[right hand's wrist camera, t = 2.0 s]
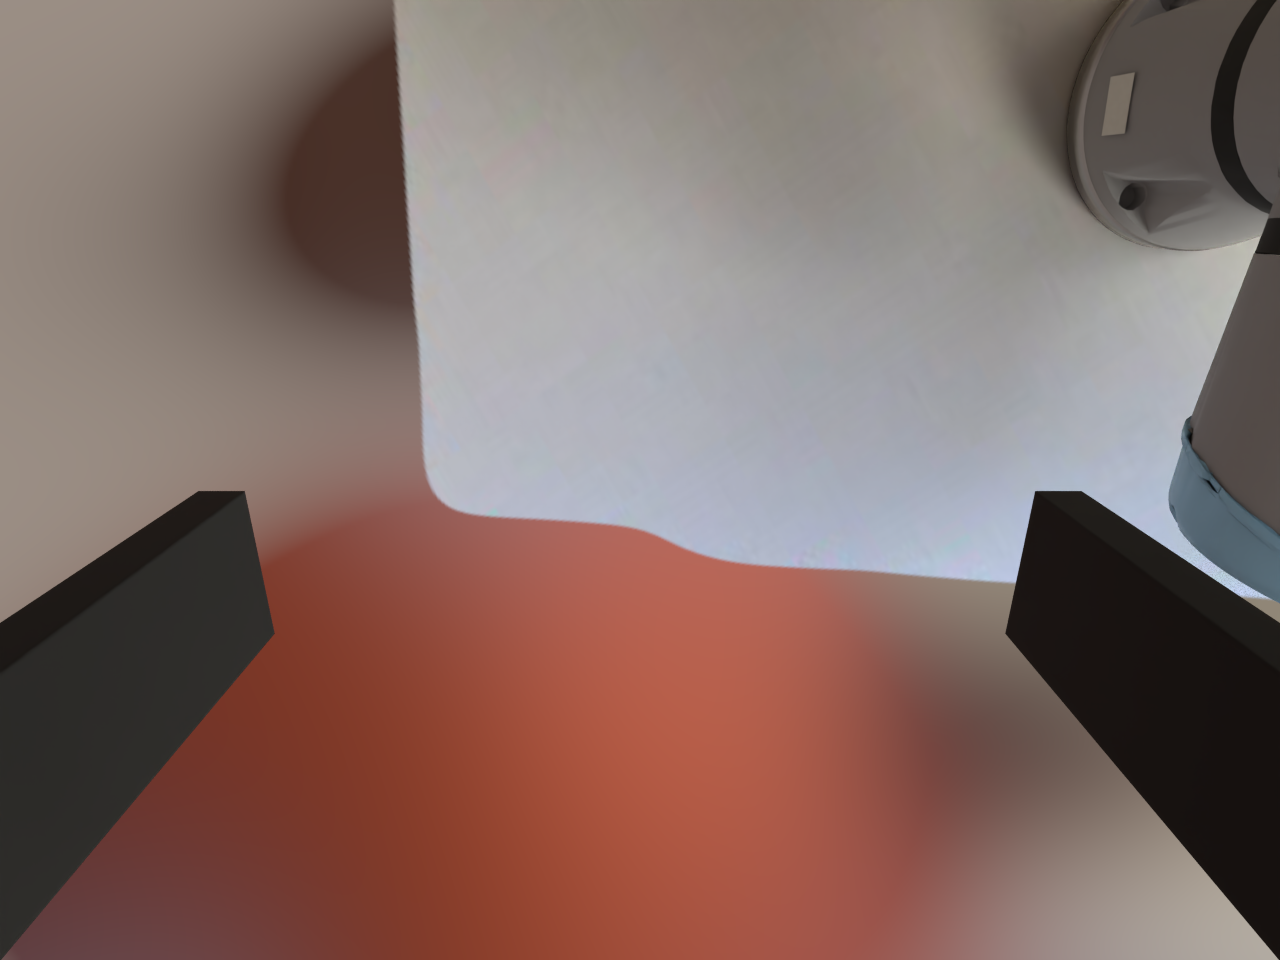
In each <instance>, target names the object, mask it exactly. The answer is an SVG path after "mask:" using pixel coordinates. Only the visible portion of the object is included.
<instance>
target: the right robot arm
mask: <svg viewBox="0 0 1280 960" xmlns="http://www.w3.org/2000/svg"><path fill="white" fill-rule="evenodd" d="M1067 147H1068V156H1069V163H1070V167H1071V171H1072V175H1073V178H1074V181H1075V184H1076V186H1077V189H1078V191H1079V193H1080V195H1081V197H1082V199H1083V201H1084V202H1085V203H1086V205H1087V206H1088V208H1089V209H1090V211H1091V212H1092V213H1093V214H1094V215H1095V217H1096V218H1097V219H1098V220H1099V221H1100V222H1101V223H1102V224H1104V225H1105V226H1106V227H1107V228H1108V229H1110V230H1111V231H1113V232H1114V233H1116V234H1117V235H1119V236H1121V237H1123V238H1125V239H1127V240H1129V241H1132V242H1134V243H1137V244H1140V245H1144V246H1148V247H1153V248H1161V249H1170V250H1183V251H1197V250H1208V249H1214V248H1220V247H1224V246H1229V245H1233V244H1237V243H1241V242H1244V241H1247V240H1250V239H1253V238H1256V237H1259V236H1261V238H1260V241H1259V244H1258V246H1257V249H1256V251H1255V253H1254V255H1253V258H1252V260H1251V263H1250V265H1249V268H1248V271H1247V273H1246V276H1245V278H1244V281H1243V284H1242V286H1241V289H1240V291H1239V294H1238V297H1237V299H1236V302H1235V305H1234V307H1233V310H1232V312H1231V315H1230V318H1229V320H1228V323H1227V325H1226V328H1225V331H1224V333H1223V336H1222V338H1221V341H1220V344H1219V346H1218V349H1217V352H1216V354H1215V357H1214V359H1213V362H1212V365H1211V367H1210V370H1209V372H1208V375H1207V378H1206V380H1205V383H1204V385H1203V388H1202V391H1201V393H1200V396H1199V399H1198V401H1197V404H1196V406H1195V409H1194V412H1193V414H1192V416H1190V417H1189V418H1188V419H1186V421H1185V424H1184V426H1183V429H1182V436H1181V440H1182V445H1183V447H1182V450H1181V453H1180V456H1179V459H1178V463H1177V466H1176V469H1175V472H1174V476H1173V479H1172V482H1171V485H1170V489H1169V507H1170V511H1171V513H1172V515H1173V517H1174V519H1175V520H1176V522H1177V523H1178V527H1179V529H1180V531H1181V532H1182V534H1183V535H1184V536H1185V537H1186V539H1187V540H1188V541H1189V542H1190V543H1191V544H1192V545H1193V546H1194V547H1195V548H1196V549H1197V550H1198V551H1199V552H1200V553H1202V554H1203V555H1204V556H1205V557H1206V558H1207V559H1209V560H1210V561H1211V562H1212V563H1214V564H1215V565H1216V566H1218V567H1219V568H1221V569H1222V570H1223V571H1225V572H1226V573H1228V574H1229V575H1231V576H1232V577H1234V578H1236V579H1237V580H1239V581H1240V582H1242V583H1244V584H1245V585H1247V586H1249V587H1251V588H1252V589H1254V590H1256V591H1258V592H1259V593H1261V594H1263V595H1265V596H1267V597H1269V598H1271V599H1273V600H1274V601H1276V602H1278V603H1280V256H1279V255H1280V0H1124V1H1123V2H1122V3H1121V4H1120V5H1119V6H1118V7H1117V8H1116V10H1115V11H1114V12H1113V13H1112V15H1111V16H1110V17H1109V18H1108V20H1107V21H1106V23H1105V24H1104V26H1103V27H1102V29H1101V30H1100V31H1099V33H1098V35H1097V36H1096V38H1095V40H1094V42H1093V43H1092V45H1091V47H1090V49H1089V51H1088V53H1087V55H1086V57H1085V59H1084V61H1083V64H1082V66H1081V69H1080V71H1079V74H1078V76H1077V80H1076V83H1075V86H1074V89H1073V93H1072V98H1071V102H1070V107H1069V114H1068V122H1067ZM1268 254H1271V255H1268ZM273 635H274V629H273V624H272V619H271V615H270V609H269V605H268V600H267V595H266V591H265V586H264V581H263V576H262V572H261V567H260V562H259V557H258V553H257V548H256V543H255V538H254V533H253V529H252V524H251V519H250V514H249V510H248V505H247V500H246V495H245V491H198V492H197V493H195V494H194V495H192V496H191V497H189V498H188V499H186V500H185V501H183V502H182V503H180V504H179V505H177V506H176V507H174V508H172V509H171V510H169V511H168V512H166V513H165V514H163V515H162V516H161V517H159V518H157V519H156V520H154V521H153V522H151V523H150V524H148V525H147V526H146V527H144V528H142V529H141V530H139V531H138V532H136V533H135V534H133V535H132V536H130V537H129V538H127V539H126V540H124V541H123V542H121V543H120V544H118V545H117V546H115V547H114V548H112V549H111V550H109V551H108V552H106V553H105V554H103V555H102V556H100V557H99V558H97V559H96V560H94V561H93V562H91V563H90V564H88V565H87V566H85V567H84V568H82V569H81V570H79V571H78V572H76V573H75V574H73V575H72V576H70V577H69V578H67V579H66V580H64V581H63V582H61V583H60V584H58V585H57V586H55V587H54V588H52V589H51V590H49V591H48V592H46V593H45V594H43V595H42V596H40V597H39V598H37V599H36V600H34V601H33V602H31V603H30V604H28V605H27V606H25V607H24V608H22V609H21V610H19V611H18V612H16V613H15V614H13V615H12V616H10V617H8V618H7V619H5V620H4V621H3V622H1V623H0V960H1V959H2V958H3V957H4V956H5V954H6V953H7V952H8V951H9V950H10V948H11V947H12V946H13V945H14V944H15V943H16V941H17V940H18V939H19V938H20V937H21V935H22V934H23V933H24V932H25V931H26V929H27V928H28V927H29V926H30V925H31V923H32V922H33V921H34V920H35V919H36V917H37V916H38V915H39V914H40V913H41V911H42V910H43V909H44V908H45V907H46V906H47V904H48V903H49V902H50V901H51V900H52V898H53V897H54V896H55V895H56V894H57V892H58V891H59V890H60V889H61V888H62V886H63V885H64V884H65V883H66V882H67V880H68V879H69V878H70V877H71V876H72V874H73V873H74V872H75V871H76V870H77V869H78V867H79V866H80V865H81V864H82V863H83V861H84V860H85V859H86V858H87V857H88V855H89V854H90V853H91V852H92V851H93V849H94V848H95V847H96V846H97V845H98V844H99V842H100V841H101V840H102V839H103V837H104V836H105V835H106V834H107V833H108V832H109V830H110V829H111V828H112V827H113V826H114V824H115V823H116V822H117V821H118V820H119V818H120V817H121V816H122V815H123V814H124V812H125V811H126V810H127V809H128V808H129V807H130V805H131V804H132V803H133V802H134V801H135V799H136V798H137V797H138V796H139V795H140V793H141V792H142V791H143V790H144V789H145V787H146V786H147V785H148V784H149V783H150V782H151V780H152V779H153V778H154V777H155V776H156V774H157V773H158V772H159V771H160V770H161V768H162V767H163V766H164V765H165V764H166V762H167V761H168V760H169V759H170V758H171V756H172V755H173V754H174V753H175V752H176V751H177V749H178V748H179V747H180V746H181V745H182V743H183V742H184V741H185V740H186V738H187V737H188V736H189V735H190V734H191V733H192V731H193V730H194V729H195V728H196V727H197V725H198V724H199V723H200V722H201V721H202V719H203V718H204V717H205V716H206V715H207V714H208V712H209V711H210V710H211V709H212V707H213V706H214V705H215V704H216V703H217V702H218V700H219V699H220V698H221V697H222V696H223V694H224V693H225V692H226V691H227V690H228V689H229V687H230V686H231V685H232V684H233V683H234V681H235V680H236V679H237V678H238V677H239V675H240V674H241V673H242V672H243V671H244V669H245V668H246V667H247V666H248V665H249V663H250V662H251V661H252V660H253V659H254V657H255V656H256V655H257V654H258V653H259V652H260V650H261V649H262V648H263V647H264V646H265V644H266V643H267V642H268V641H269V640H270V638H271V637H272V636H273ZM1006 635H1007V636H1008V637H1009V638H1010V640H1011V641H1012V642H1013V643H1014V644H1015V645H1016V647H1017V648H1018V649H1019V650H1020V652H1021V653H1022V654H1023V655H1024V656H1025V657H1026V659H1027V660H1028V661H1029V662H1030V663H1031V665H1032V666H1033V667H1034V668H1035V669H1036V671H1037V672H1038V673H1039V674H1040V675H1041V677H1042V678H1043V679H1044V680H1045V681H1046V683H1047V684H1048V685H1049V686H1050V687H1051V688H1052V690H1053V691H1054V692H1055V693H1056V694H1057V696H1058V697H1059V698H1060V699H1061V700H1062V702H1063V703H1064V704H1065V705H1066V706H1067V708H1068V709H1069V710H1070V711H1071V712H1072V714H1073V715H1074V716H1075V717H1076V718H1077V719H1078V721H1079V722H1080V723H1081V724H1082V725H1083V727H1084V728H1085V729H1086V730H1087V731H1088V733H1089V734H1090V735H1091V736H1092V737H1093V739H1094V740H1095V741H1096V742H1097V743H1098V745H1099V746H1100V747H1101V748H1102V749H1103V751H1104V752H1105V753H1106V754H1107V755H1108V756H1109V758H1110V759H1111V760H1112V761H1113V762H1114V764H1115V765H1116V766H1117V767H1118V768H1119V770H1120V771H1121V772H1122V773H1123V774H1124V776H1125V777H1126V778H1127V779H1128V780H1129V781H1130V783H1131V784H1132V785H1133V786H1134V787H1135V789H1136V790H1137V791H1138V792H1139V793H1140V795H1141V796H1142V797H1143V798H1144V799H1145V801H1146V802H1147V803H1148V804H1149V805H1150V807H1151V808H1152V809H1153V810H1154V811H1155V812H1156V814H1157V815H1158V816H1159V817H1160V818H1161V820H1162V821H1163V822H1164V823H1165V824H1166V826H1167V827H1168V828H1169V829H1170V830H1171V832H1172V833H1173V834H1174V835H1175V836H1176V838H1177V839H1178V840H1179V841H1180V842H1181V844H1182V845H1183V846H1184V847H1185V848H1186V849H1187V851H1188V852H1189V853H1190V854H1191V855H1192V857H1193V858H1194V859H1195V860H1196V861H1197V862H1198V864H1199V865H1200V866H1201V867H1202V868H1203V870H1204V871H1205V872H1206V873H1207V874H1208V876H1209V877H1210V878H1211V879H1212V880H1213V882H1214V883H1215V884H1216V885H1217V886H1218V888H1219V889H1220V890H1221V891H1222V892H1223V894H1224V895H1225V896H1226V897H1227V898H1228V900H1229V901H1230V902H1231V903H1232V904H1233V905H1234V907H1235V908H1236V909H1237V910H1238V911H1239V913H1240V914H1241V915H1242V916H1243V917H1244V919H1245V920H1246V921H1247V922H1248V923H1249V925H1250V926H1251V927H1252V928H1253V929H1254V931H1255V932H1256V933H1257V934H1258V935H1259V937H1260V938H1261V939H1262V940H1263V941H1264V942H1265V944H1266V945H1267V946H1268V947H1269V948H1270V950H1271V951H1272V952H1273V953H1274V954H1275V956H1276V957H1277V958H1278V959H1279V960H1280V623H1279V622H1278V621H1276V620H1275V619H1273V618H1272V617H1270V616H1268V615H1267V614H1265V613H1264V612H1262V611H1261V610H1259V609H1258V608H1256V607H1255V606H1253V605H1252V604H1250V603H1249V602H1247V601H1246V600H1244V599H1243V598H1241V597H1240V596H1238V595H1237V594H1235V593H1234V592H1232V591H1231V590H1229V589H1228V588H1226V587H1225V586H1223V585H1222V584H1220V583H1219V582H1217V581H1216V580H1214V579H1213V578H1211V577H1210V576H1208V575H1207V574H1205V573H1204V572H1202V571H1201V570H1199V569H1198V568H1196V567H1195V566H1193V565H1192V564H1190V563H1189V562H1187V561H1186V560H1184V559H1183V558H1181V557H1180V556H1178V555H1177V554H1175V553H1174V552H1172V551H1171V550H1169V549H1168V548H1166V547H1165V546H1163V545H1162V544H1160V543H1159V542H1157V541H1156V540H1154V539H1153V538H1151V537H1150V536H1148V535H1147V534H1145V533H1144V532H1142V531H1141V530H1139V529H1138V528H1136V527H1135V526H1133V525H1132V524H1130V523H1129V522H1127V521H1126V520H1124V519H1123V518H1121V517H1120V516H1118V515H1117V514H1115V513H1114V512H1112V511H1111V510H1109V509H1108V508H1106V507H1104V506H1103V505H1101V504H1100V503H1098V502H1097V501H1095V500H1094V499H1092V498H1091V497H1089V496H1088V495H1086V494H1085V493H1083V492H1082V491H1035V495H1034V500H1033V505H1032V509H1031V514H1030V519H1029V524H1028V528H1027V533H1026V538H1025V543H1024V548H1023V552H1022V557H1021V562H1020V567H1019V571H1018V576H1017V581H1016V586H1015V591H1014V595H1013V600H1012V605H1011V610H1010V614H1009V619H1008V624H1007V629H1006Z"/></svg>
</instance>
